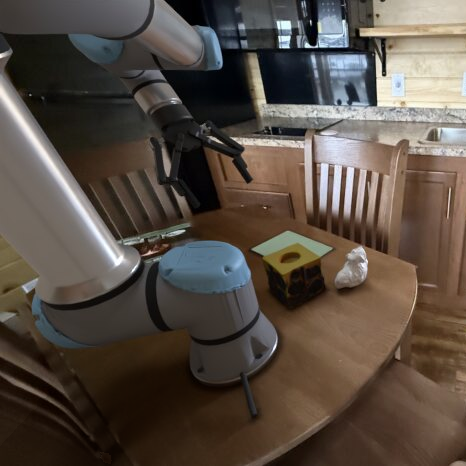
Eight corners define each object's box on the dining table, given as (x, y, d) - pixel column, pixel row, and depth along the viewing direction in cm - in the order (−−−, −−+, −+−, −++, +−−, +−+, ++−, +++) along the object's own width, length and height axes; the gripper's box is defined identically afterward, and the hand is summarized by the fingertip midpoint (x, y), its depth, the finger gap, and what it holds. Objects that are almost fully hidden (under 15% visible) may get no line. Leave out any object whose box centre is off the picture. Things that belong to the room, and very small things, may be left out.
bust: (341, 302, 78) (363, 281, 71) (320, 280, 78) (340, 257, 71) (367, 276, 87) (389, 255, 80) (348, 256, 87) (368, 234, 80)
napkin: (333, 248, 95) (333, 248, 95) (297, 272, 85) (297, 271, 84) (288, 231, 104) (288, 230, 104) (250, 250, 94) (250, 249, 94)
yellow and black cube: (326, 290, 78) (322, 256, 73) (290, 310, 72) (282, 275, 67) (304, 272, 84) (299, 241, 79) (269, 290, 78) (260, 257, 73)
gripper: (215, 104, 81) (263, 177, 86) (100, 135, 64) (169, 222, 69) (222, 89, 75) (274, 168, 80) (99, 118, 59) (174, 214, 64)
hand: (225, 193), depth 75 cm, fingers open, 13 cm apart
